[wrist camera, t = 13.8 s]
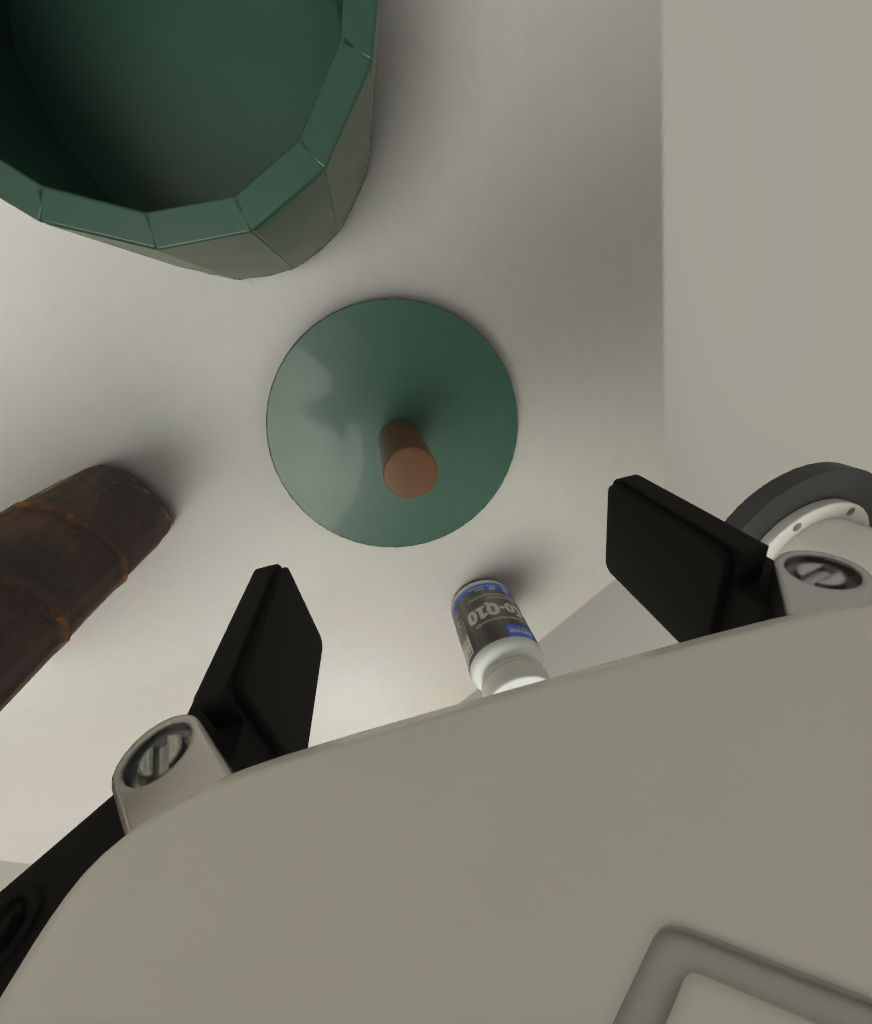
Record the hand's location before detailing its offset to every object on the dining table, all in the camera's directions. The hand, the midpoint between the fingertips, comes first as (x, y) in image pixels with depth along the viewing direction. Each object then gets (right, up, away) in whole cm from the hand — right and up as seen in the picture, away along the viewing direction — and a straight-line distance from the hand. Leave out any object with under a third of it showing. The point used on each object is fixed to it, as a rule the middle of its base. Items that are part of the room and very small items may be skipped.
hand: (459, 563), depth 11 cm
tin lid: (-3, +6, +10) cm, 12 cm away
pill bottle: (+3, -5, +18) cm, 19 cm away
